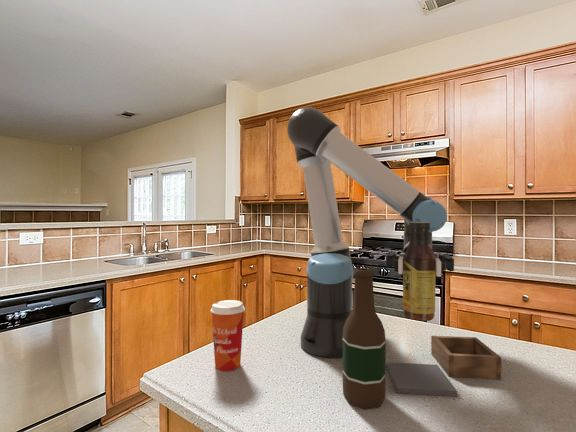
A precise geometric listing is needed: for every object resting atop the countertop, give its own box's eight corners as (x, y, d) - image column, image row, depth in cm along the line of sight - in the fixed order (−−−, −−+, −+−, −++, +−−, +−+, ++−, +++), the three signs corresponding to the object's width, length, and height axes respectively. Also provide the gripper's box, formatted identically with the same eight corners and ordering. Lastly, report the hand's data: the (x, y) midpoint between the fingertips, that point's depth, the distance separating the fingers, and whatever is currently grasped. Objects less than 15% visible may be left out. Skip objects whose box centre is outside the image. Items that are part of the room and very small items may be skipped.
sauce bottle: (403, 311, 72) (403, 221, 72) (434, 315, 69) (435, 221, 69) (401, 320, 66) (402, 221, 66) (436, 324, 63) (436, 222, 63)
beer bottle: (387, 412, 56) (387, 273, 56) (341, 407, 58) (341, 271, 58) (383, 389, 64) (383, 266, 64) (343, 385, 65) (343, 265, 65)
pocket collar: (448, 376, 69) (448, 355, 69) (431, 353, 80) (431, 335, 80) (501, 379, 68) (501, 357, 68) (476, 356, 79) (476, 337, 79)
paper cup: (203, 370, 72) (203, 306, 72) (222, 356, 79) (222, 298, 79) (234, 376, 69) (234, 310, 69) (251, 361, 76) (251, 301, 76)
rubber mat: (396, 392, 62) (396, 387, 62) (386, 366, 73) (386, 362, 73) (457, 396, 61) (457, 391, 61) (437, 369, 72) (437, 364, 72)
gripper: (459, 272, 81) (476, 292, 59) (379, 267, 88) (368, 283, 66) (459, 241, 81) (476, 250, 59) (379, 239, 88) (368, 246, 66)
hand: (419, 268), depth 63 cm, fingers closed on sauce bottle, 6 cm apart
